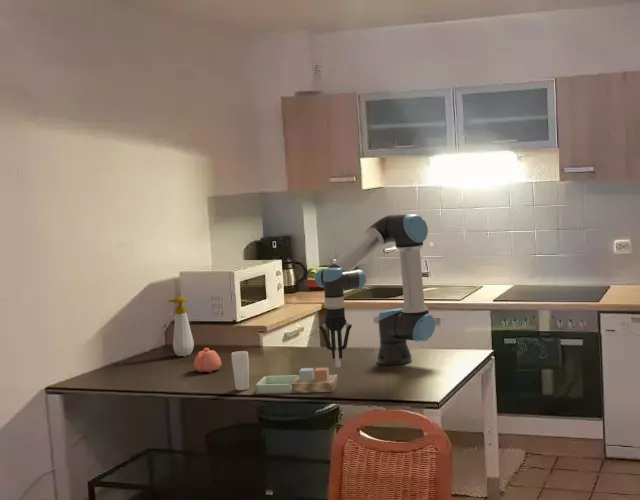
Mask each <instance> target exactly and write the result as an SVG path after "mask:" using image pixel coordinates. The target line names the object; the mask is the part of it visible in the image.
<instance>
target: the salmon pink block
mask: <svg viewBox="0 0 640 500" xmlns="http://www.w3.org/2000/svg"><path fill="white" fill-rule="evenodd" d="M329 375H330V368H329V367H315V368H314V378H315V381H322V380H328V379H329Z"/></svg>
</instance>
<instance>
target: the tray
mask: <svg viewBox="0 0 640 500" xmlns="http://www.w3.org/2000/svg"><path fill="white" fill-rule="evenodd" d="M298 376H299V374H297V375H296V374H295V375H293V374H292V375H291V374H290V375H265V376H263V377H261V379H260V380H259V381H258V382H257V383H256V384H255V385H254V389H255V395H272V394H274V395H276V394H279V395H282V394H292V388H291V384H292V382H293V381H294V380H295V379H296V378H297V377H298Z"/></svg>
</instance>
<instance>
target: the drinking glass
mask: <svg viewBox="0 0 640 500" xmlns="http://www.w3.org/2000/svg"><path fill="white" fill-rule="evenodd" d="M249 362H250V359H249V352H248V351H247V350H241V351H239V350H238V351H234V352H232V353H231V366H232V371H233V379H234V384H235V390H236V391H240V392H241V391H247V390H249V388H250V385H249V383H250V382H249V379H250V378H249V375H250V374H249V371H250V367H249V366H250V363H249Z"/></svg>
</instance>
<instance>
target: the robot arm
mask: <svg viewBox="0 0 640 500" xmlns="http://www.w3.org/2000/svg"><path fill="white" fill-rule="evenodd" d="M428 232H429V228H428V224H427V222H426V220H425V219H424V218H423V217H422V216H421V215H419V214H414V213H413V214H412V213H408V214H388V215H386V216H384V217H381V218H380V219H378V220H377V221H375V222H374V223H373V224H371V226H369V227H368V228H367V229H366V230H365V232H364V233H365V234H364V235H363V236H362V237H360V239H358V240H357V241H356V242H355V243H354V244H352V245H351V247H349V248H348V249H347V250H346V251H345V252H344V253H343V254H342V255H340V256H339V257H338V258H337V259H336V260H335V261H334V262H333V263H332V264H330V265H329V266H328V267H326V268H321V269H319V270H317V271H316V273H315V275H314V281H315V284H316V285H317V286H318V287H320V288H323V293H324V307H325V309H324V311H325V321H324V323H323V324H320V326H319V329H320V331H321V332H322V337H323V339H324V343H325V346H326V348H327V350H328V351H329V350H330V351H331V354H332V355H331V358H332V359H333V360H334V361H335V362H334V363H335V368H339V369H340V368H341V360H342V359H343V350H346V348H347V346H348V341H349V336H350V331H351V329H352V328H353V324H351V323H349V322H347V320H346V315H345V313H346V312H345V307H344V306H345V300H344V299H345V297H344V296H345V295H344V293H345V292H346V291H350V290H358V289H361V288H363V287H364V286H365V285H366V283H367V277H366V274H365V272H364V271H363V270H362V269H355V268H356V267H357V266H359V264H361V263H362V262H363V261H364V260H365V259H366V258H367V257H368V256H370V255H371V254H372V252H374V251H375V250H376V249H377V248H381V247H383V246H384V245H385V244H388V243H391V242H392V243H394V245H395V248H396V249H397V250H398V251H399V261H400V272H401V281H402V293H403V294H402V295H403V296H402V297H403V305H404V306H403V307H399V308H393V309H386V310H382V311H380V312H379V313H378V319H377V320H378V331H379V332H378V334H379V348H378V352H377V356H376V360H377V361H376V362H377V364H379V365H384V366H385V365H386V366H387V365H388V366H396V365H403V364H408V363H411V362H412V360H413V359H412V354H411V351H410V348H409V345H408V342H407V341H415V342H427V341H428V340H429V339H431V338H432V336H433V334H434V333H435V330H436V320H435V318H434V316H433V315H432V314H430V313H429V312H430V311H429V308H428V307H427V305H425V298H424V297H425V296H424V295H425V294H424V283H423V282H424V281H423V272H422V260H421V259H422V258H421V248H423V247H424V241H425V240H427V236H428V234H429V233H428ZM344 291H345V292H344ZM344 327H345V329H346V330H345V334H344V339H342V338H343V337H342V336H343V335H342V331H343V328H344ZM327 329H328V330H329V331H330V338H329V335H328V331H327ZM336 334H337V335H336ZM336 336H337V343H336ZM330 339H331V340H330ZM342 340H343V341H342ZM336 345H337V346H336Z"/></svg>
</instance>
